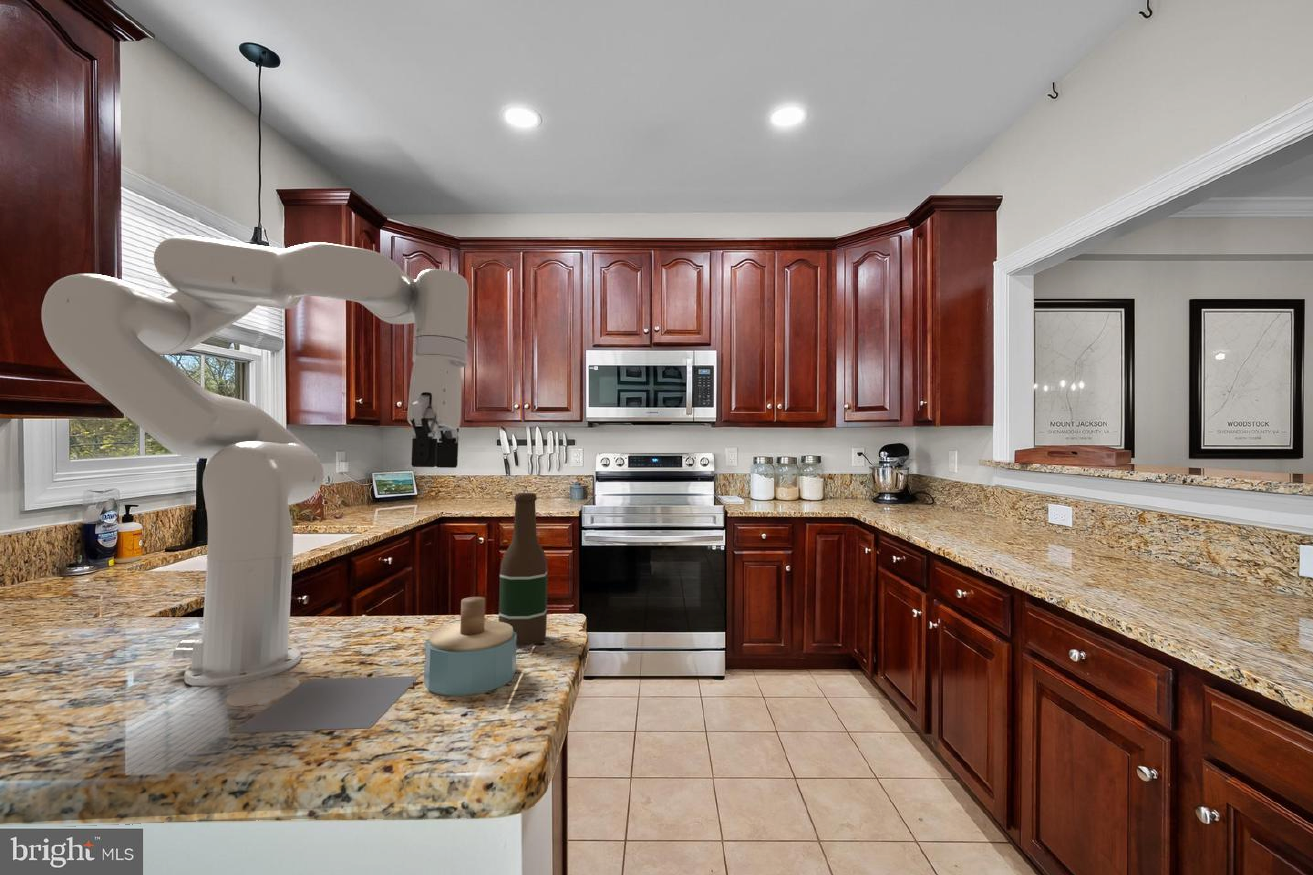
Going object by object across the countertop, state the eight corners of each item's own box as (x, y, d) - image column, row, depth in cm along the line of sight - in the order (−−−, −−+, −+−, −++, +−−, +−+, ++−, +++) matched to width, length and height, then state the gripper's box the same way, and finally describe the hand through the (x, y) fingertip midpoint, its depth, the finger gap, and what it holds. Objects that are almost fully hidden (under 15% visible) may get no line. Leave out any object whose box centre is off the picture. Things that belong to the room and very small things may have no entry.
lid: (417, 652, 63) (418, 610, 64) (443, 627, 74) (444, 591, 74) (504, 650, 64) (505, 608, 65) (518, 625, 75) (519, 589, 75)
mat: (229, 736, 54) (229, 732, 54) (308, 682, 68) (308, 679, 68) (370, 731, 55) (370, 727, 55) (419, 679, 69) (419, 675, 69)
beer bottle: (555, 636, 87) (558, 492, 89) (530, 651, 80) (533, 494, 81) (516, 631, 90) (519, 491, 91) (487, 645, 82) (491, 493, 84)
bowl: (411, 700, 63) (413, 653, 63) (441, 666, 74) (442, 626, 74) (505, 697, 64) (506, 651, 64) (520, 663, 75) (521, 624, 75)
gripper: (434, 365, 87) (430, 467, 86) (389, 338, 70) (384, 466, 69) (480, 366, 88) (476, 468, 86) (447, 340, 70) (442, 467, 69)
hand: (435, 467), depth 78 cm, fingers open, 9 cm apart
